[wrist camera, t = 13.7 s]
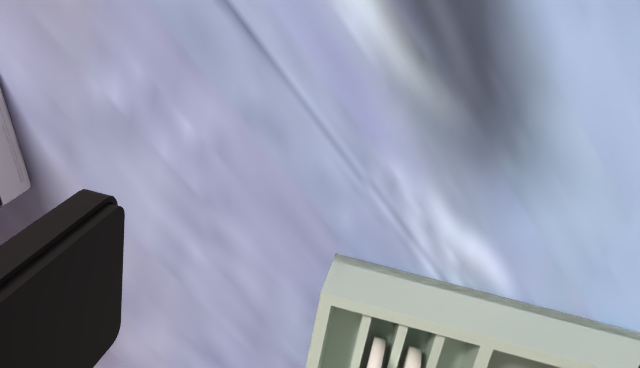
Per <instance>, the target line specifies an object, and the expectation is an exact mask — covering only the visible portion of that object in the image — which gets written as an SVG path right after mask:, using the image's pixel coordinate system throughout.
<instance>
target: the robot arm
mask: <svg viewBox="0 0 640 368" xmlns="http://www.w3.org/2000/svg"><path fill="white" fill-rule="evenodd" d="M124 218H125V214H124V209H123V208H122V207H121V206H118V205H117V201H116V199H115V198H114V197H113V196H110V195H106V194H102V193H98V192H94V191H90V190H86V189H83V190H81V191H79V192H77V193H76V194H74V195H73V196H71V197H70V198H69V199H67V200H66V201H64V202H63V203H61V204H60V205H58V206H57V207H56V208H54V209H53V210H51V211H50V212H48V213H47V214H45V215H44V216H43V217H41V218H40V219H38V220H37V221H35V222H34V223H32V224H31V225H30V226H28V227H27V228H25V229H24V230H22V231H21V232H19V233H18V234H17V235H15V236H14V237H12V238H11V239H9V240H8V241H6V242H5V243H4V244H2V245H1V246H0V368H93V367H94V366H95V365H96V363H97V362H98V361H99V360H100V359H101V357H102V356H103V355H104V354H105V353H106V351H107V350H108V349H109V348H110V347H111V345H112V344H113V343H114V341H115V339H116V338H117V335H118V333H119V329H120V324H121V300H122V273H123V246H124ZM638 368H640V365H639V367H638Z"/></svg>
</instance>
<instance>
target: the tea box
mask: <svg viewBox="0 0 640 368" xmlns="http://www.w3.org/2000/svg"><path fill="white" fill-rule="evenodd" d="M30 185H31V183H30V180H29V177H28V173H27V170H26V166H25V163H24V160H23V157H22V153H21V150H20V147H19V144H18V141H17V138H16V135H15V131H14V128H13V125H12V122H11V119H10V116H9V113H8V109H7V106H6V103H5V100H4V97H3V93H2V90H1V87H0V207H2V206H3V205H5V204H7V203H9V202H10V201H12V200H13V199H15V198H16V197H18V196H19V195H21V194H22V193H24V192H25V191H27V190H28V189H30Z"/></svg>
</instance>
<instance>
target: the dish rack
mask: <svg viewBox="0 0 640 368" xmlns="http://www.w3.org/2000/svg"><path fill="white" fill-rule="evenodd" d="M374 336H375V337H379V338H383V339H386V344H385V351H384V357H383V362H382V367H381V368H400V365H401V361H402V358H403V355H404V353H405V350H406V348H407V346H412V347H416V348H419V349H421V368H638V367H639V365H640V333H639V332H635V331H631V330H627V329H623V328H619V327H616V326H612V325H608V324H604V323H600V322H596V321H592V320H589V319H585V318H581V317H577V316H573V315H569V314H566V313H562V312H558V311H554V310H550V309H546V308H542V307H539V306H535V305H531V304H527V303H523V302H519V301H515V300H512V299H508V298H504V297H500V296H496V295H492V294H488V293H485V292H481V291H477V290H473V289H469V288H465V287H462V286H458V285H454V284H450V283H446V282H442V281H438V280H435V279H431V278H427V277H423V276H419V275H415V274H411V273H408V272H404V271H400V270H396V269H392V268H388V267H385V266H381V265H377V264H373V263H369V262H365V261H361V260H358V259H354V258H350V257H346V256H342V255H338V254H335V257H334V259H333V262H332V265H331V267H330V270H329V272H328V275H327V278H326V280H325V283H324V286H323V288H322V291H321V295H320V299H319V304H318V309H317V314H316V319H315V324H314V329H313V334H312V339H311V344H310V348H309V353H308V358H307V363H306V368H366V364H367V360H368V356H369V352H370V348H371V345H372V341H373V338H374Z"/></svg>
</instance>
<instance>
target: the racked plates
mask: <svg viewBox="0 0 640 368" xmlns="http://www.w3.org/2000/svg"><path fill="white" fill-rule="evenodd" d="M385 344H386V339H383V338H379V337H375V336H374V338H373V341H372V345H371V348H370V352H369V356H368V360H367V364H366V368H381V367H382V362H383V357H384V351H385ZM400 368H421V349H419V348H416V347H412V346H407V348H406V350H405V353H404V355H403V358H402V361H401V365H400Z"/></svg>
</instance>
